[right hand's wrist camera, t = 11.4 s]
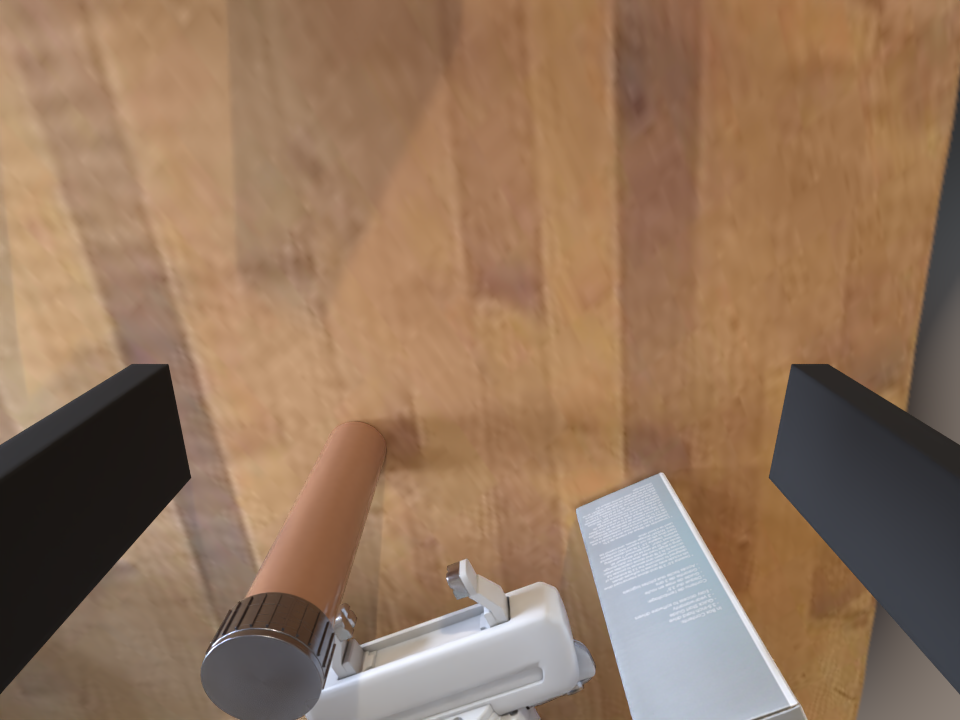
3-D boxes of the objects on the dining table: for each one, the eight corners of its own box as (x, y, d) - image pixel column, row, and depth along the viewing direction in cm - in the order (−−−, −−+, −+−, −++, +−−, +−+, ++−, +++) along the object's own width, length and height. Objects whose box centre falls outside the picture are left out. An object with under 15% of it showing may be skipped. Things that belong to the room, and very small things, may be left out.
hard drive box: (730, 611, 48) (893, 909, 29) (645, 643, 49) (747, 950, 30) (663, 466, 43) (806, 711, 24) (570, 506, 44) (637, 769, 25)
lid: (293, 573, 25) (275, 616, 23) (358, 652, 26) (346, 699, 24) (200, 617, 26) (172, 663, 23) (267, 691, 27) (248, 741, 25)
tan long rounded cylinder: (366, 411, 42) (276, 617, 23) (397, 458, 43) (337, 687, 25) (315, 437, 42) (190, 657, 24) (348, 482, 44) (254, 723, 25)
